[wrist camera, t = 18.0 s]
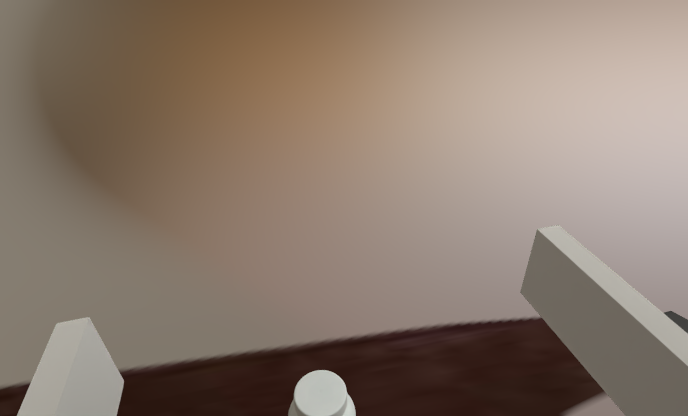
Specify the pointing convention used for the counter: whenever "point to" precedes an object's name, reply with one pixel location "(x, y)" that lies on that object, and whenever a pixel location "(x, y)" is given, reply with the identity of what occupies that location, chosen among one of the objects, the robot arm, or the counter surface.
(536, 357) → the counter surface
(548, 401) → the counter surface
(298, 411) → the pill bottle
